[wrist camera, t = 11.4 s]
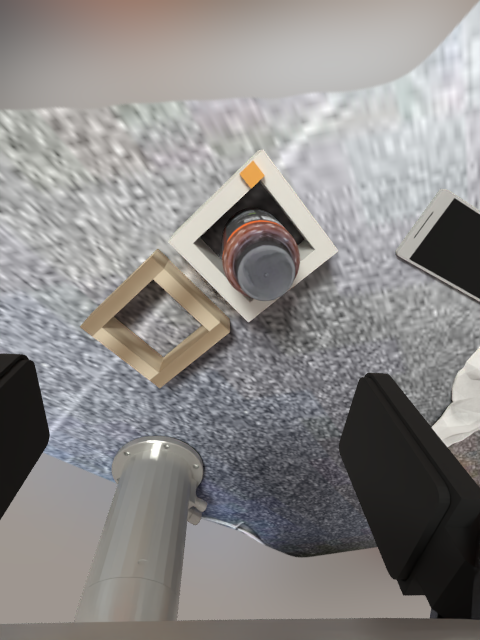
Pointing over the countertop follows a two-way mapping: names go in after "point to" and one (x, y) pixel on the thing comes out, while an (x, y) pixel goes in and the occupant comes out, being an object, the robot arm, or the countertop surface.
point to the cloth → (462, 405)
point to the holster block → (136, 349)
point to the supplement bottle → (259, 255)
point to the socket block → (221, 201)
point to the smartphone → (447, 243)
